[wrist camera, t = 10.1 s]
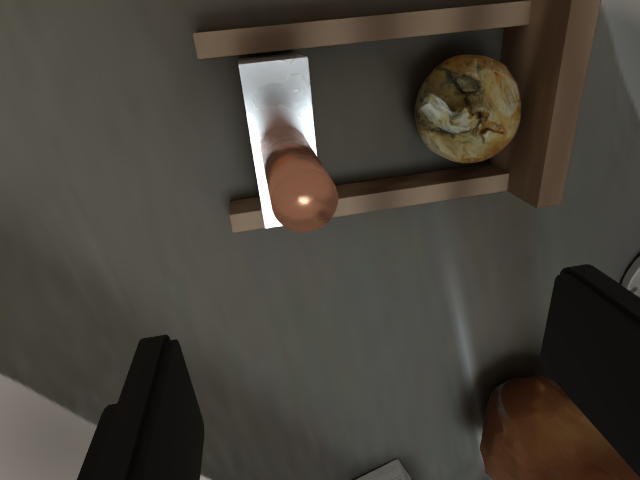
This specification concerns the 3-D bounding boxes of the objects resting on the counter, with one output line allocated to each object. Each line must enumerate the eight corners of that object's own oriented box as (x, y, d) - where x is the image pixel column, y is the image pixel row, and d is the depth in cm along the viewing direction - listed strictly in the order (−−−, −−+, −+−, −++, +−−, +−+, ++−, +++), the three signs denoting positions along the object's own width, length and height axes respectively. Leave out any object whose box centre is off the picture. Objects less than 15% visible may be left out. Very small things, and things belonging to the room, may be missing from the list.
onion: (421, 169, 36) (465, 202, 29) (385, 84, 33) (426, 99, 26) (499, 125, 36) (563, 148, 29) (472, 33, 32) (538, 34, 25)
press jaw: (295, 52, 30) (342, 70, 16) (309, 190, 34) (354, 290, 21) (238, 58, 29) (239, 82, 16) (260, 197, 34) (276, 304, 21)
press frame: (531, 0, 32) (602, -7, 26) (508, 176, 38) (561, 204, 32) (196, 32, 29) (185, 33, 23) (233, 217, 35) (232, 257, 29)
